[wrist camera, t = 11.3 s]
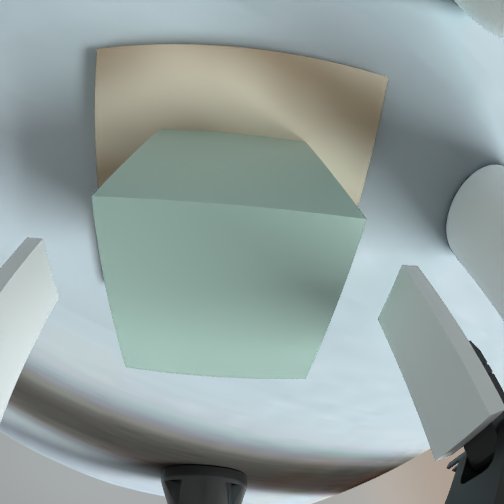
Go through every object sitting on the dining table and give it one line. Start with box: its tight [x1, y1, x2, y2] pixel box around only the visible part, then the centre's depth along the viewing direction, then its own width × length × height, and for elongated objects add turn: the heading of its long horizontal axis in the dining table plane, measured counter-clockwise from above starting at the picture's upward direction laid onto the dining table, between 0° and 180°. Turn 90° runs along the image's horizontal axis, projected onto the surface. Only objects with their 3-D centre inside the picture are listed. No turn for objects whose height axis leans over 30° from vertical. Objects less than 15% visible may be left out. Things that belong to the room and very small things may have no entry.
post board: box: [95, 44, 388, 207], centre depth 14 cm, size 15×14×8 cm
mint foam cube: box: [92, 129, 367, 379], centre depth 13 cm, size 7×7×8 cm
